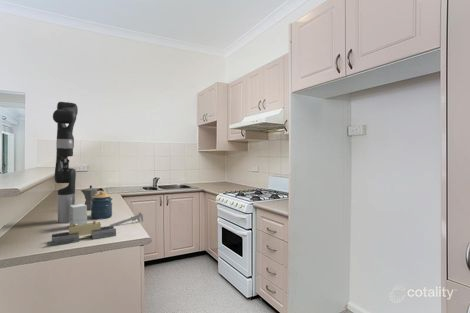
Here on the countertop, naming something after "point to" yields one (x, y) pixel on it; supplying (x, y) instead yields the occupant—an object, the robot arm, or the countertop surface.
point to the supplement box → (78, 214)
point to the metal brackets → (66, 238)
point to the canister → (101, 206)
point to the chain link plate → (84, 228)
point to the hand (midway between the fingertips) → (64, 177)
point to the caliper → (129, 219)
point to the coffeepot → (90, 195)
